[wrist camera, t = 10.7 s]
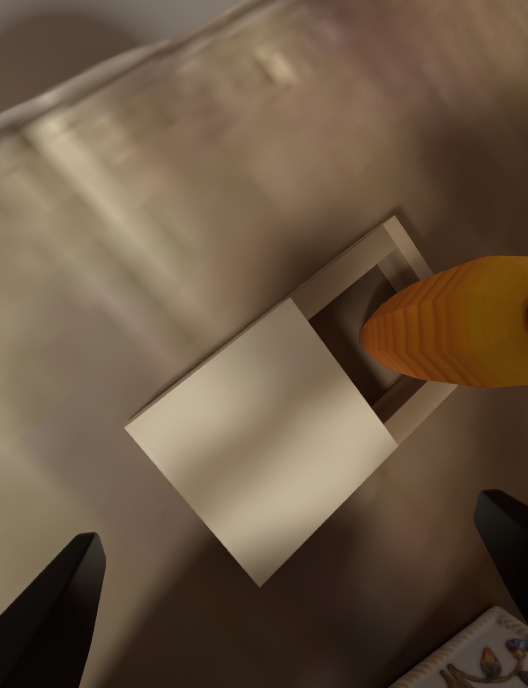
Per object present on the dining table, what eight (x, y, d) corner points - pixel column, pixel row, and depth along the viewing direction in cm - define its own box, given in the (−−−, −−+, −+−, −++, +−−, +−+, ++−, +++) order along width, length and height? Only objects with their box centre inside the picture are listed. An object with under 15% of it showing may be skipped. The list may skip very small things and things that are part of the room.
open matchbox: (455, 355, 25) (487, 355, 22) (247, 561, 20) (259, 587, 18) (370, 230, 24) (394, 215, 21) (128, 419, 19) (124, 427, 17)
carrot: (379, 286, 23) (728, 161, 9) (410, 358, 24) (796, 349, 9) (312, 318, 22) (595, 234, 8) (346, 394, 22) (679, 448, 8)
